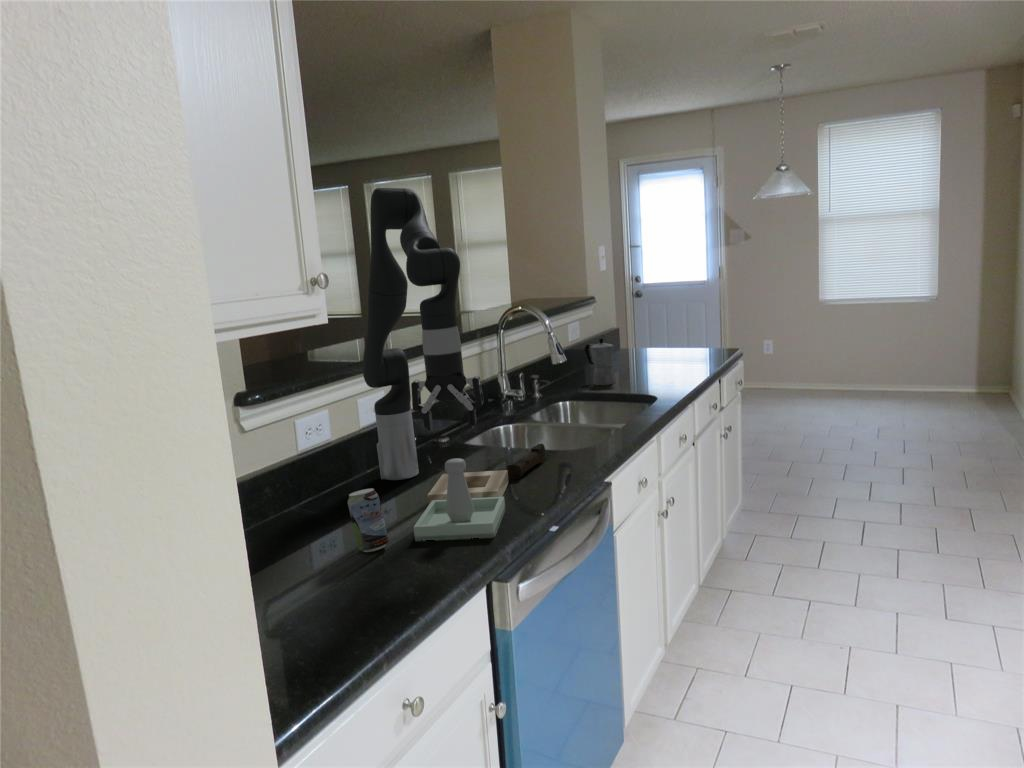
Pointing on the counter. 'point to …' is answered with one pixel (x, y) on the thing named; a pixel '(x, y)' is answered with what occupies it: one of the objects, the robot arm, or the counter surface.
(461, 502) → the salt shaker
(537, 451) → the hand tool
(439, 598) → the counter surface
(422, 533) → the parts tray
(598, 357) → the coffeepot
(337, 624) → the counter surface
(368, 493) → the beverage can
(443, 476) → the holder
